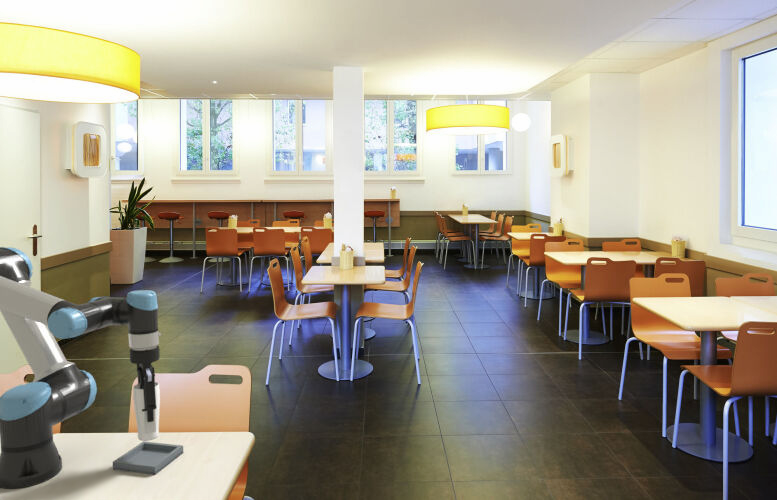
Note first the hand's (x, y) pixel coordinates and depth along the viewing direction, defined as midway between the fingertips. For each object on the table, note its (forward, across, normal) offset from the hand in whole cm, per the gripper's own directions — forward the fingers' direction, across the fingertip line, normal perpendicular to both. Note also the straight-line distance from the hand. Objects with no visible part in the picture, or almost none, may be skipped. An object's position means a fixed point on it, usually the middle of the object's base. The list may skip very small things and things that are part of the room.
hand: (148, 427), depth 154 cm
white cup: (+3, 0, 0) cm, 3 cm away
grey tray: (+10, 0, 0) cm, 10 cm away
